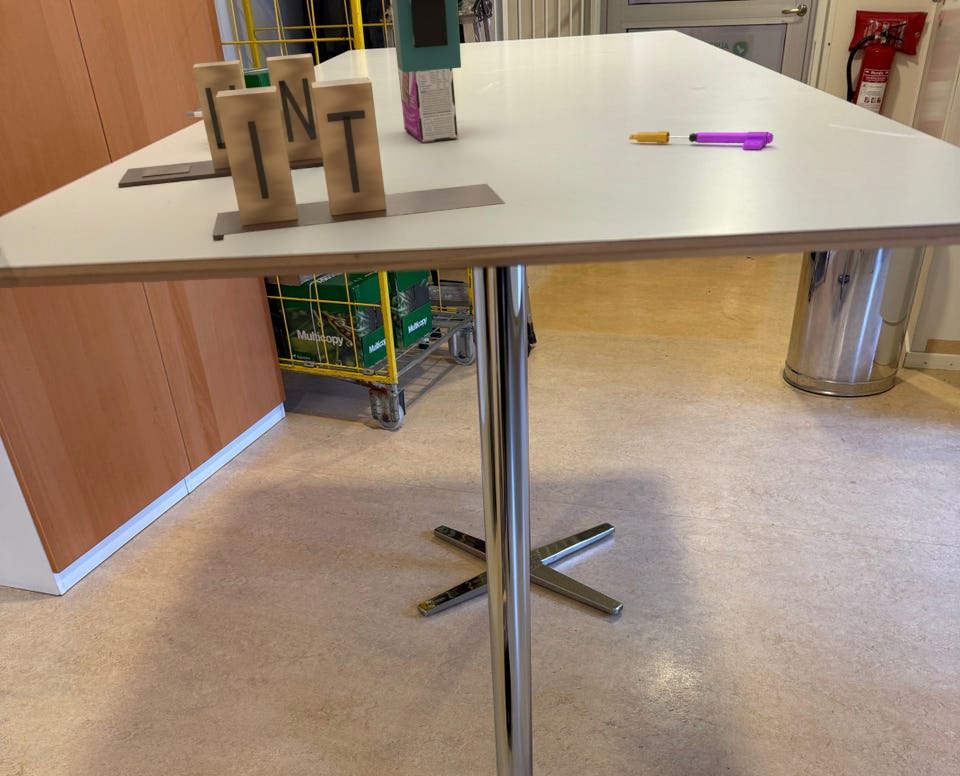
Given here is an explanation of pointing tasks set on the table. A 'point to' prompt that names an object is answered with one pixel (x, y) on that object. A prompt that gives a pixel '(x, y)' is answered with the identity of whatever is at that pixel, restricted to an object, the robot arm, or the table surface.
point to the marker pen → (710, 138)
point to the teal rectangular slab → (425, 56)
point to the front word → (345, 161)
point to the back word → (210, 78)
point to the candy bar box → (428, 103)
